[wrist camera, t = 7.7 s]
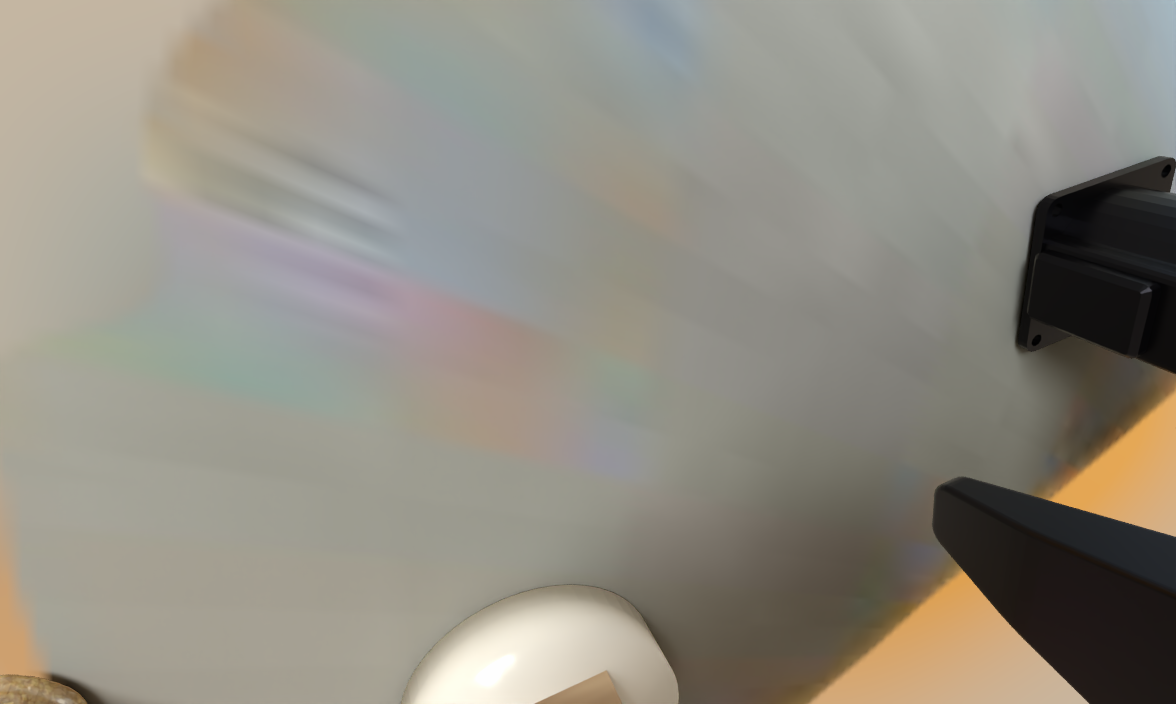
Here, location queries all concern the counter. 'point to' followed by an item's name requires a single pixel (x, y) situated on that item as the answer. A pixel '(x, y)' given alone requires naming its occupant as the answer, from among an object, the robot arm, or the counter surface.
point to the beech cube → (587, 692)
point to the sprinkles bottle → (36, 691)
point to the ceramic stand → (545, 651)
